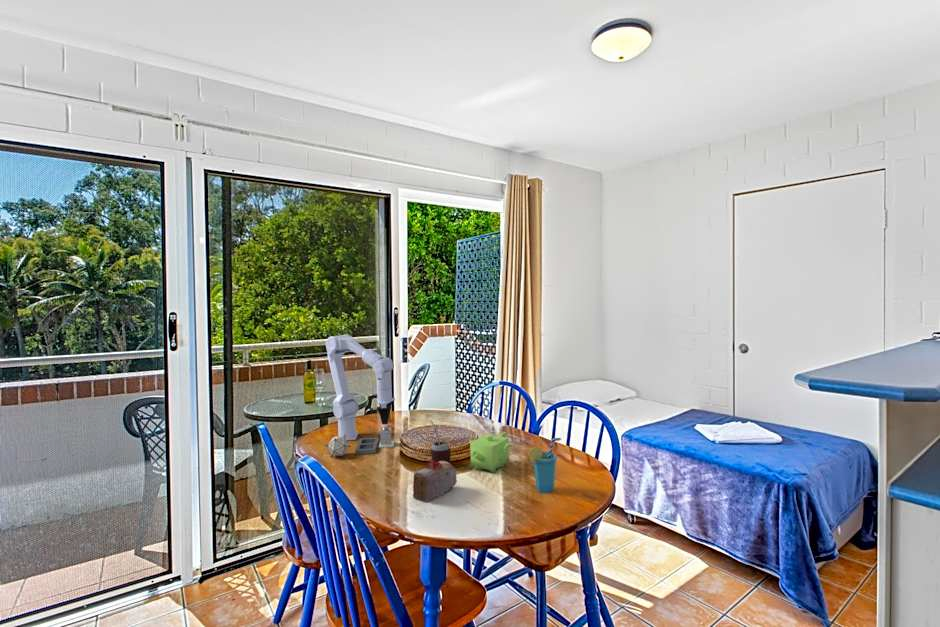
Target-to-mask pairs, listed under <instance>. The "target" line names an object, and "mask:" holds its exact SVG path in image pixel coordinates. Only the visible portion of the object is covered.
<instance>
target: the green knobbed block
mask: <svg viewBox="0 0 940 627" xmlns="http://www.w3.org/2000/svg"><path fill="white" fill-rule="evenodd" d="M505 433H506V431H502V432H501V433H500V434H499V436H498V435H492V434H488V433H487V434H485V435H483V436H481V437H478V438H476V439H470V440H468V442H469V444H470V446H469V448H470V449H469V450H470V466H471V467H475V468H476V470H483V469H484V470H489V473H496V472H497V469H499V468H504V467H505V464H506V463H508V462H510V446H512V445H514V443H512V442H510V440H509V437H504V436H505Z"/></svg>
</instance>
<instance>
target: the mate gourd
mask: <svg viewBox="0 0 940 627" xmlns="http://www.w3.org/2000/svg"><path fill="white" fill-rule="evenodd" d="M430 423H431V425H432V426H433V428H434V432H435V436H436V439H437V441H436V442H434V443H433V444H432V445H431V448H430V456H431V462H435V461H436V462H439V461H446V462H448V463H450V461H451V453H452V451H451V447H450V445H449V443H448V442H446V441H440V439H439V435H438V429H437V427H436V425H435V424H434V423H433V421H432V420H431V421H430Z"/></svg>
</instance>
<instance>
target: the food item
mask: <svg viewBox="0 0 940 627" xmlns="http://www.w3.org/2000/svg"><path fill="white" fill-rule="evenodd" d="M425 465H426V466H425V468H423V469H420V470H418V471H415V472H413V480H412V484H413V486H412V491H413V492H412V493H413V494H412V497H413V499H415V500H417V501H421V502H424V503H428V502H429V501H431V500H433V499H435V498H437V497H443V496H444V495H445V494H446V493H447V492H448V491H450V490H451V489H453V487H456V484H457V482H458V480H457V469H456V468H455V466H453V465H452V463H450V462H449V463H448V462H446V461H439V462H436V461H435V462H433V461H429V462H426V463H425Z"/></svg>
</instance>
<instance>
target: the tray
mask: <svg viewBox="0 0 940 627" xmlns="http://www.w3.org/2000/svg"><path fill="white" fill-rule="evenodd" d="M391 441H392V442H391V445H383V446H381V441H379V442H378V448H379V449H381V448H394V447H395V441H396V440H391Z"/></svg>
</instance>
